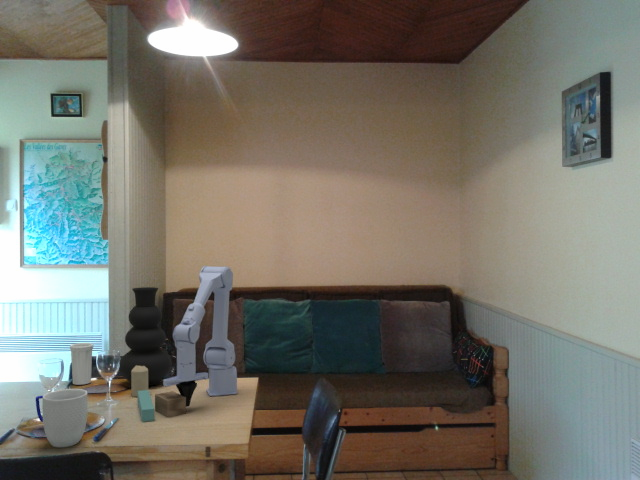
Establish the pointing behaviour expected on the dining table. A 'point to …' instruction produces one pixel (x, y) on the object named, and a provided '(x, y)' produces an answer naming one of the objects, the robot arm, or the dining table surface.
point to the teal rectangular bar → (145, 406)
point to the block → (170, 404)
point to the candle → (139, 380)
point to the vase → (146, 338)
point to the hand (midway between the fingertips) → (186, 405)
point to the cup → (81, 362)
